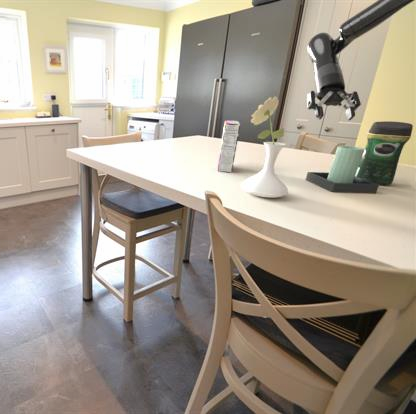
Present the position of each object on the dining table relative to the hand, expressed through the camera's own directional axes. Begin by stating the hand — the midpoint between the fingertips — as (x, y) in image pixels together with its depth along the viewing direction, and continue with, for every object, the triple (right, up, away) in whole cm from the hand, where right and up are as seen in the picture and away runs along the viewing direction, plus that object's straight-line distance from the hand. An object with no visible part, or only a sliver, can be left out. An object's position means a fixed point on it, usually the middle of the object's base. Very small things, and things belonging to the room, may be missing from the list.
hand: (335, 118), depth 91 cm
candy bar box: (-31, -15, +12) cm, 36 cm away
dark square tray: (-4, -22, -5) cm, 23 cm away
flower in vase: (-32, -25, -14) cm, 43 cm away
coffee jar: (+11, -21, 0) cm, 23 cm away
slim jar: (-4, -22, -6) cm, 23 cm away
